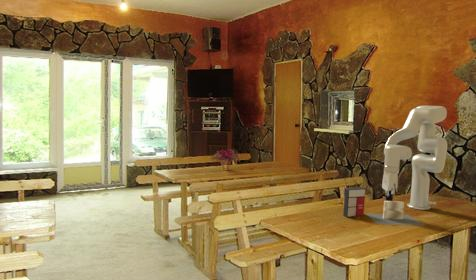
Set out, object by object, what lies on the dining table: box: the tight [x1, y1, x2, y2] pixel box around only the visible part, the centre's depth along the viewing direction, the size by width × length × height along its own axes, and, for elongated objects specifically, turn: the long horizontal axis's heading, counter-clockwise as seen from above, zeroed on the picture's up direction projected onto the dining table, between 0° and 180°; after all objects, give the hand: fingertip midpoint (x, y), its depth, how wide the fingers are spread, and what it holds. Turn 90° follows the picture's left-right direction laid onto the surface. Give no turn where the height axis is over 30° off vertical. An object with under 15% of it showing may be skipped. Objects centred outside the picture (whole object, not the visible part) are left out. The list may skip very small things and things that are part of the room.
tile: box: [382, 200, 405, 219], centre depth 217 cm, size 10×2×9 cm, turn 91°
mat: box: [364, 212, 426, 226], centre depth 216 cm, size 24×19×1 cm
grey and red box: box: [342, 186, 366, 218], centre depth 221 cm, size 11×4×15 cm, turn 112°
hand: (388, 203), depth 223 cm, fingers closed
